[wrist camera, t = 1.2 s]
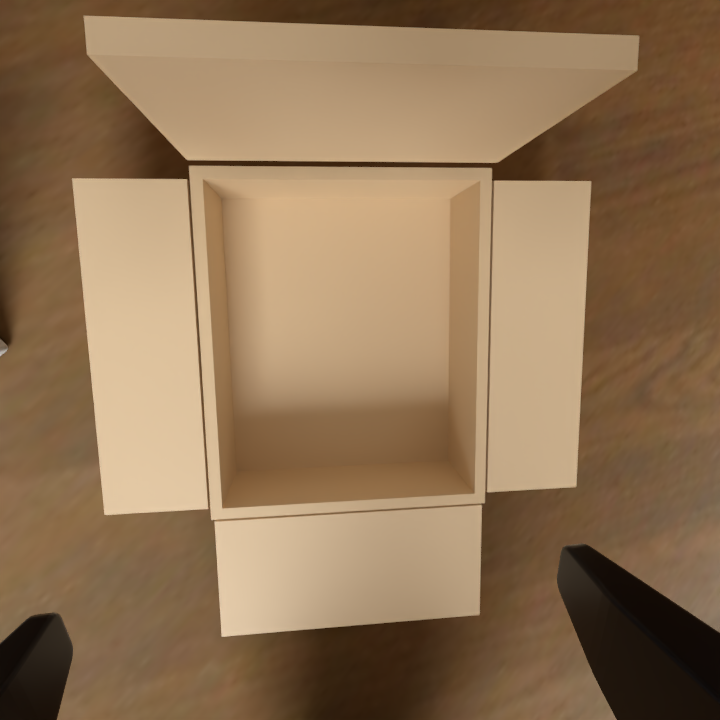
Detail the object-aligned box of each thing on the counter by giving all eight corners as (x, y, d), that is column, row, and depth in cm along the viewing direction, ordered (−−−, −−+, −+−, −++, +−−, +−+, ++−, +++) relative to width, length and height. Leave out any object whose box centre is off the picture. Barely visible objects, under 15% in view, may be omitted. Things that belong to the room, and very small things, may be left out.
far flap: (497, 162, 16) (637, 70, 9) (187, 160, 15) (86, 54, 8) (497, 140, 16) (639, 30, 9) (185, 136, 15) (82, 9, 8)
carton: (527, 554, 24) (570, 607, 20) (150, 582, 22) (116, 646, 18) (539, 190, 21) (592, 168, 17) (118, 189, 19) (70, 164, 16)
